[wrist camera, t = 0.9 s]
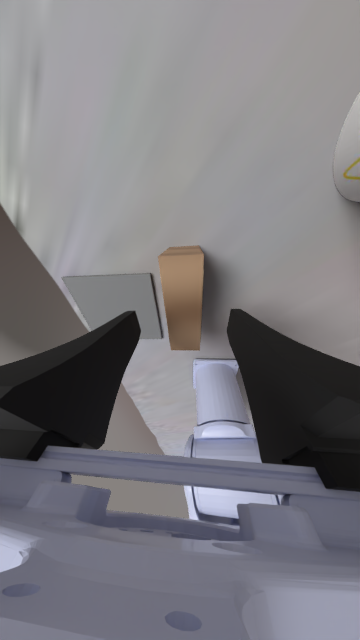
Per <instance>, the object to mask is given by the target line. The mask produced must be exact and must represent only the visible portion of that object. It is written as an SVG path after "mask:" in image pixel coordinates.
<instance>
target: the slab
mask: <svg viewBox="0 0 360 640" xmlns="http://www.w3.org/2000/svg"><path fill="white" fill-rule="evenodd" d="M158 259H159V267H160V277H161V284H162V291H163V298H164V305H165V312H166V319H167V326H168V333H169V341H170V346H171V350H200V340H201V318H202V297H203V275H204V269H203V262H204V254H203V252H202V250H201V249H200V247H199V246H184V247H169V248H168V249H167V250H166V251H164V252H163V253H162V254H161V255H159V256H158Z"/></svg>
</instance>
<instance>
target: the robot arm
mask: <svg viewBox="0 0 360 640" xmlns="http://www.w3.org/2000/svg"><path fill="white" fill-rule="evenodd" d="M140 334H141V328H140V325H139V321H138V318H137V315H136V311H126V312H124V313H122V314H120V315H119V316H117V317H115V318H114V319H112V320H110V321H109V322H107V323H105V324H104V325H102V326H100V327H98V328H96V329H95V330H93V331H91V332H89V333H87V334H85V335H83V336H81V337H79V338H77V339H75V340H73V341H70V342H68V343H65V344H63V345H61V346H58V347H56V348H53V349H51V350H48V351H45V352H43V353H40V354H37V355H35V356H31V357H28V358H25V359H22V360H19V361H16V362H13V363H9V364H6V365H3V366H0V640H360V366H357V365H354V364H351V363H348V362H345V361H343V360H340V359H337V358H335V357H332V356H329V355H327V354H324V353H322V352H319V351H317V350H314V349H312V348H310V347H307V346H305V345H303V344H301V343H298V342H296V341H294V340H292V339H290V338H288V337H286V336H284V335H282V334H280V333H279V332H277V331H275V330H273V329H271V328H270V327H268V326H266V325H265V324H263V323H261V322H260V321H258V320H257V319H255V318H254V317H252V316H251V315H249V314H248V313H246V312H244V311H243V310H241V309H231V312H230V317H229V322H228V327H227V334H228V339H229V343H230V345H231V348H232V351H233V353H234V356H235V358H236V360H210V359H195V360H194V361H193V388H194V389H196V403H197V426H195V427H194V434H192V435H190V437H189V439H188V441H187V443H186V446H185V451H184V457H181V456H169V455H157V454H156V455H155V454H145V453H144V454H143V453H132V452H120V451H108V450H97V449H99V448H100V447H101V446H102V445H103V444H104V442H105V438H106V433H107V429H108V425H109V421H110V417H111V414H112V410H113V406H114V403H115V399H116V396H117V393H118V390H119V387H120V384H121V381H122V378H123V375H124V372H125V370H126V367H127V365H128V363H129V361H130V359H131V357H132V354H133V352H134V350H135V348H136V346H137V344H138V341H139V338H140ZM238 368H239V369H240V371H241V374H242V378H243V381H244V385H245V389H246V393H247V397H248V401H249V405H250V409H251V414H252V418H253V423H254V427H255V431H254V428H253V425H252V424H250V421H249V418H248V415H247V412H246V408H245V405H244V402H243V399H242V396H241V392H240V389H239V386H238V383H237V380H236V374H237V371H238ZM255 432H256V435H255ZM70 474H74V475H84V476H95V477H104V478H115V479H125V480H134V481H144V482H155V483H164V484H175V485H184V489H185V495H186V499H187V502H188V510H189V519H186V518H178V517H170V516H160V515H152V514H143V513H132V512H123V511H113V510H106V508H107V504H108V501H109V497H110V494H111V491H110V490H108V489H102V488H96V487H91V486H87V485H79V484H72V483H71V478H72V477H71V475H70Z"/></svg>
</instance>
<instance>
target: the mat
mask: <svg viewBox="0 0 360 640" xmlns="http://www.w3.org/2000/svg"><path fill="white" fill-rule="evenodd" d="M62 280H63V281H64V283H65V285H66V287H67V288H68V290H69V292H70V294H71V295H72V297H73V299H74V300H75V302H76V304H77V306H78V307H79V309H80V311H81V313H82V314H83V316H84V318H85V320H86V321H87V323H88V325H89V327H90V328H91V330H92V331H93V330H95V329H96V328H98V327H100V326H102V325H104V324H105V323H107V322H109V321H110V320H112V319H114V318H115V317H117V316H119V315H120V314H122V313H124V312H126V311H136V315H137V318H138V321H139V325H140V328H141V334H140V338H139V339H162V333H161V328H160V322H159V317H158V311H157V306H156V300H155V295H154V289H153V284H152V278H151V273H142V274H117V275H93V276H69V277H62Z"/></svg>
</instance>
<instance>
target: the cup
mask: <svg viewBox="0 0 360 640" xmlns="http://www.w3.org/2000/svg"><path fill="white" fill-rule="evenodd" d="M333 177H334V182H335V185H336V187H337V189H338V191H339V192H340V194H341V195H342V196H343V197H345V198H346V199H348V200H351V201H355V202H360V92H359V94H358V96H357V97H356V99H355V101H354V103H353V105H352V107H351V109H350V111H349V113H348V115H347V117H346V120H345V122H344V124H343V127H342V130H341V132H340V135H339V138H338V142H337V145H336V149H335V154H334V161H333Z"/></svg>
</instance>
